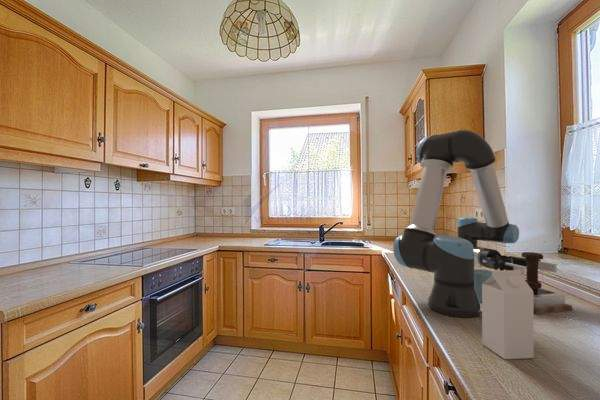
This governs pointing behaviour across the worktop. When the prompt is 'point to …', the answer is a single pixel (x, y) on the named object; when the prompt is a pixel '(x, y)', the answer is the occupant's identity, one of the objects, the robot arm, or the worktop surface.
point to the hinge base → (549, 302)
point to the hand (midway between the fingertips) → (540, 269)
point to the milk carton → (508, 315)
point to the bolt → (532, 270)
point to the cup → (480, 281)
